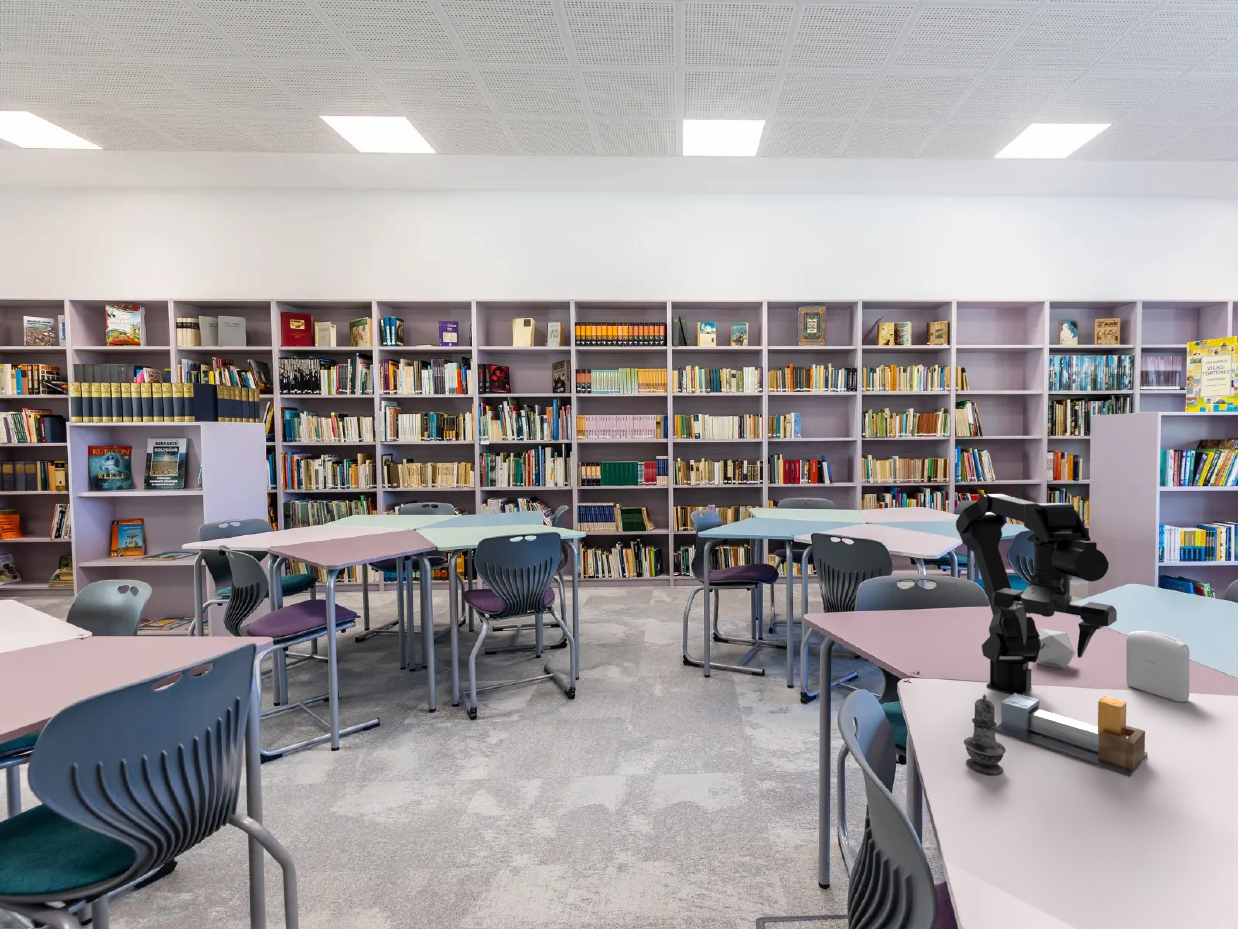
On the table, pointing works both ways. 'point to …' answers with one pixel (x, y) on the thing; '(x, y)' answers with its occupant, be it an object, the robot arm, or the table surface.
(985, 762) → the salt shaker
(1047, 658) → the die
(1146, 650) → the photo printer
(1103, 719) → the silver bar
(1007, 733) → the long dark base plate
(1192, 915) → the table surface
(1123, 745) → the socket block
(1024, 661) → the robot arm
